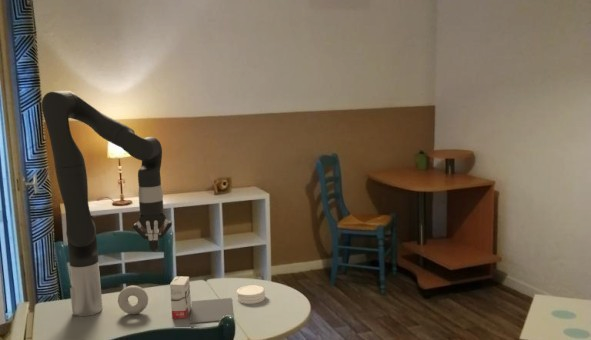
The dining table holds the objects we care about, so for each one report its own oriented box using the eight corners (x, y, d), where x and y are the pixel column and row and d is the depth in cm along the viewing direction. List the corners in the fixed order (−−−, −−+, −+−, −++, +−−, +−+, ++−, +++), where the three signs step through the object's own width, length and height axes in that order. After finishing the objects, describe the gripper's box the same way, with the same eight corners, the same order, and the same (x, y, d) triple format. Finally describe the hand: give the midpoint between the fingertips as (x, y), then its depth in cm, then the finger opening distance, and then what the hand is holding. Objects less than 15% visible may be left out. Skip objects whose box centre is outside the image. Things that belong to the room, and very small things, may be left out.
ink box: (186, 318, 186) (184, 284, 184) (171, 319, 186) (169, 285, 184) (191, 308, 194) (189, 275, 192) (177, 308, 194) (175, 275, 192)
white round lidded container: (233, 303, 198) (232, 294, 197) (242, 293, 207) (242, 283, 207) (260, 305, 195) (260, 296, 195) (268, 294, 205) (268, 285, 204)
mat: (190, 323, 182) (190, 322, 182) (191, 302, 199) (191, 301, 199) (233, 320, 184) (233, 318, 184) (231, 299, 201) (231, 297, 201)
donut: (150, 311, 193) (148, 283, 191) (148, 315, 189) (146, 286, 188) (120, 312, 192) (117, 284, 190) (117, 316, 189) (115, 288, 187)
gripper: (128, 202, 178) (132, 255, 181) (170, 200, 180) (174, 252, 183) (131, 197, 185) (135, 248, 188) (172, 195, 187) (175, 245, 190)
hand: (154, 250), depth 185 cm, fingers closed
